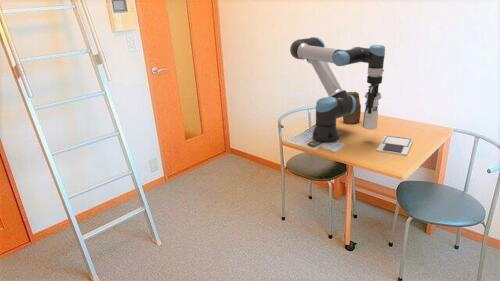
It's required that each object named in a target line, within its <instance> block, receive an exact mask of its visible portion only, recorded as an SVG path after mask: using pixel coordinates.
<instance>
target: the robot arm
mask: <svg viewBox="0 0 500 281" xmlns="http://www.w3.org/2000/svg"><path fill="white" fill-rule="evenodd" d="M289 50H290V54H291V56H292V57H293V58H294V59H296V60H301V61H304V60H306V61H307V63H308V64H311V66H312V68H313V69H314V71H315V73H316V75H317V76H318V77H317V78H318V79H319V80H320V82H321V85H322V86H323V88H324V89H325V92H326V93H327V95H328V96H327V97H321V98H319V99H318V100H316V103H315V104H316V106H315V126H314V129H313V131H312V139H313V140H314V141H316V140H317V141H316V142H319V141H324V142H323V143H332V142H336V141H338V140H339V139H340V138H339V137H340V134H339V131H338V128H337V119H340V118H343V116H348V115H349V114H352V113H353V112H354V111H355V109H356V100H355V98H354V97H353V96H351V95H348V94H347V92H348V91H346V90H345V89H342V87H341V85H340V83H339V81H338V80H337V78H336V76H335V74H334V72H333V71H332V68H331V67H330V65H329V63H331V64H334V65H335V66H336V67H345V66H347V65H353V64H357V63H367V64H368V66H367V76H366V83H367V84H369V86H370V85H371V86H370V89H369V88H368V91H367V92H368V101H367V100H366V101H367V106H366V105H365V108H366V107H367V108H368V109H367V119H372V115H373V102H374V97H376V96H377V93H378V92H379V86H380V84H382V82H383V72H384V71H385V69H384V61H385V55H386V46H385V45H383V44H372V45H370V46H369V48H368V47H361V46H353V47H352V48H349V49H339V48H338V49H337V48H331V47H326V45H325V42H324V41H323V39H322V38H320V37H314V36H312V37H309V38H307V37H306V38H302V39H301V38H299V39H296V40H294V41H293V42H292V44H291V45H290V48H289ZM372 86H373V87H372Z"/></svg>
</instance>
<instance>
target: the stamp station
mask: <svg viewBox="0 0 500 281" xmlns="http://www.w3.org/2000/svg"><path fill="white" fill-rule="evenodd" d="M413 142H414V139H413V138H410V137H409V138H407V137H400V136H393V135H385V136H384V137H383V138H382V140H381V142H380V143H379V145H378V147H377V149H376V152H380V153H387V154H393V155H399V156H405V157H407V156H408V154H409V151H410V149H411V147H412V145H413Z"/></svg>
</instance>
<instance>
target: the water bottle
mask: <svg viewBox="0 0 500 281" xmlns="http://www.w3.org/2000/svg"><path fill="white" fill-rule="evenodd" d="M370 86H371V84H369V85H368V86H367V87H368V90H369V89H370ZM372 87H373V86H372ZM364 97H365V99H366V102H365V103H364V105H365V109H364V111H363V112H364V113H363V121H362V128H363V129H365V130H376V129H378V116H379V110H378V109H379V108H378V107H379V105H380V104H379V100H381V99H382V94H381V93H380V92H379V91H378V93H377V96H376V97H374V102H373V115H372V119H367V109H368V108H367V107H366V106H367V101H368V91H367V92H365V95H364Z"/></svg>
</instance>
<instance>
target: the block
mask: <svg viewBox="0 0 500 281" xmlns="http://www.w3.org/2000/svg"><path fill="white" fill-rule="evenodd" d="M346 92H347V94H348V95H351V96H353V97H354V98H355V100H356V109H355V111H354V112H353V113H352V114H349V115H348V116H343V117H342V121H343V123H345V124H348V125H349V124H351V125H352V124H359V123H360V121H361V115H362V114H361V113H362V112H361V110H362V107H361V106H362V105H361V102H360V94H359V92H357V91H346Z"/></svg>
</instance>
